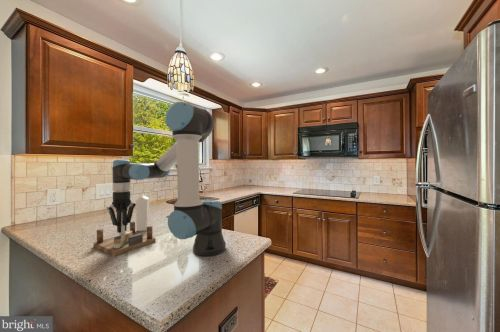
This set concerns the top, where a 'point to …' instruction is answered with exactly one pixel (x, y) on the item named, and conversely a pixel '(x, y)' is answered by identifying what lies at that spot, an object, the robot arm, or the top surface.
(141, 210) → the milk
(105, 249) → the wooden peg board
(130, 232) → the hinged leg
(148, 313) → the top surface
